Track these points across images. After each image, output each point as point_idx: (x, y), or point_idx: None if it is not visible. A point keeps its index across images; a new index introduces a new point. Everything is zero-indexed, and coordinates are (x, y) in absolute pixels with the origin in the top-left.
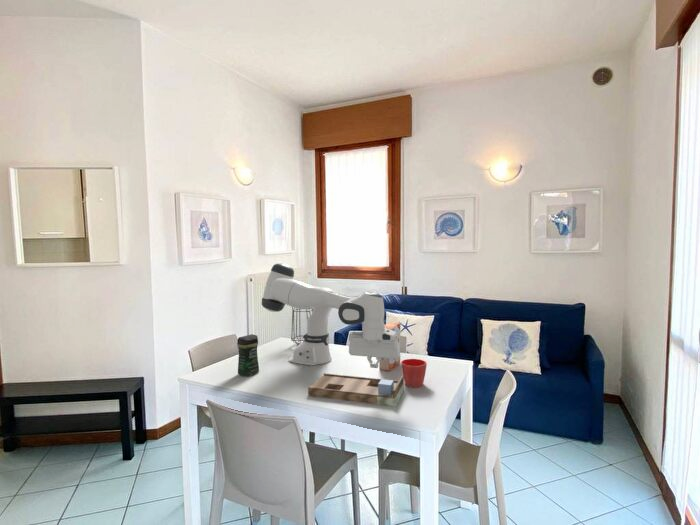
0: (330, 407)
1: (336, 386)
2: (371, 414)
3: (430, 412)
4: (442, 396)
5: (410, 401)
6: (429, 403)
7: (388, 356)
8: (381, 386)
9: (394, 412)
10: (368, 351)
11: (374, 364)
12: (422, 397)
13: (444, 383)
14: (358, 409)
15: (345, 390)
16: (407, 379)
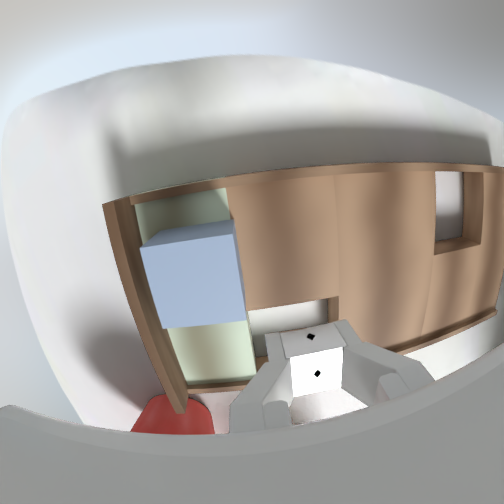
0: (403, 81)
1: (453, 246)
2: (208, 68)
3: (24, 212)
4: (56, 349)
5: (107, 274)
6: (52, 284)
7: (60, 437)
8: (208, 233)
9: (120, 135)
10: (473, 447)
11: (304, 350)
12: (93, 325)
13: (109, 426)
14: (289, 89)
15: (414, 195)
16: (182, 414)
